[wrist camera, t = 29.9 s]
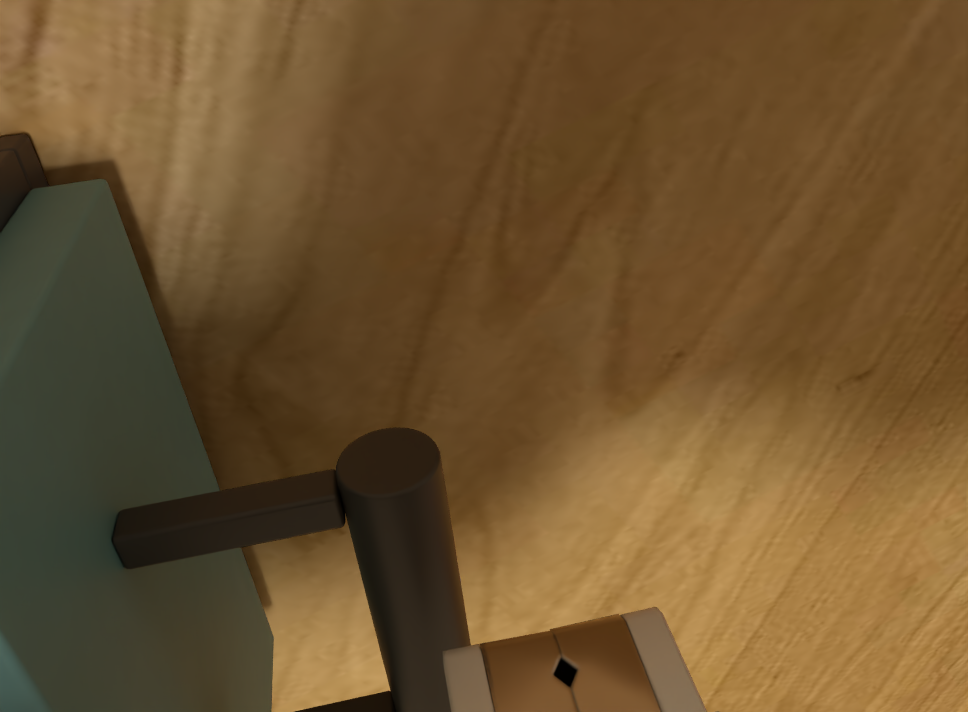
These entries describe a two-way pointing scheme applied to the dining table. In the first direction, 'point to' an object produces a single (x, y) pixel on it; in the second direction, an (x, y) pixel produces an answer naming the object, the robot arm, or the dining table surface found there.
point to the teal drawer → (173, 504)
